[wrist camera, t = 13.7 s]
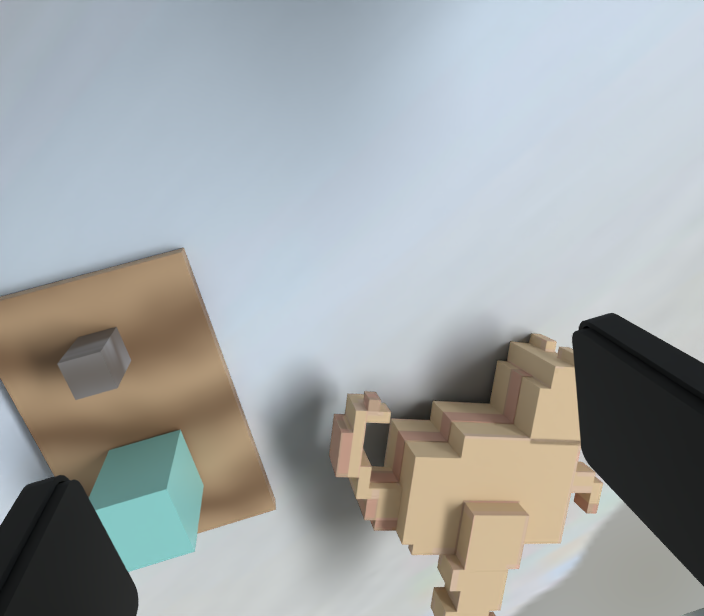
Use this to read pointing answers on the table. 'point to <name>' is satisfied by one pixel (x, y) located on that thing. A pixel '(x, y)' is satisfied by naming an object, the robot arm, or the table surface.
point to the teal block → (149, 500)
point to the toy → (475, 474)
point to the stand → (130, 378)
